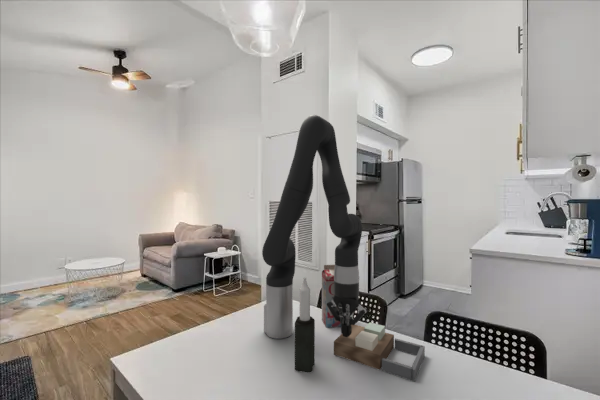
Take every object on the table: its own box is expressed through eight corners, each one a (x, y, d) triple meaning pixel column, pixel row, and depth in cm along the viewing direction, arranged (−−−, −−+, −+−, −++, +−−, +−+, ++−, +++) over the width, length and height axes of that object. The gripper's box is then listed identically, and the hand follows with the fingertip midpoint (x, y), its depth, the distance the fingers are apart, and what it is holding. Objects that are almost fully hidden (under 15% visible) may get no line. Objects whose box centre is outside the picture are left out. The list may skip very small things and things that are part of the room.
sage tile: (364, 336, 89) (364, 328, 89) (369, 329, 93) (369, 322, 93) (380, 340, 86) (380, 332, 86) (385, 333, 90) (385, 326, 90)
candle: (312, 373, 76) (312, 280, 76) (293, 370, 77) (293, 279, 77) (315, 362, 81) (315, 275, 81) (297, 360, 82) (297, 274, 82)
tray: (381, 370, 78) (381, 359, 78) (395, 347, 89) (395, 338, 89) (414, 381, 73) (414, 370, 73) (424, 356, 85) (424, 346, 85)
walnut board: (333, 354, 86) (333, 341, 85) (352, 335, 97) (352, 323, 97) (379, 369, 78) (379, 355, 78) (393, 347, 90) (393, 334, 90)
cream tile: (355, 345, 83) (355, 337, 83) (361, 338, 87) (361, 330, 87) (372, 351, 80) (372, 342, 80) (377, 343, 84) (378, 335, 84)
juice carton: (343, 326, 104) (343, 266, 104) (326, 327, 103) (326, 267, 103) (338, 318, 111) (338, 262, 110) (321, 319, 110) (321, 262, 109)
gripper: (321, 278, 87) (321, 335, 88) (362, 286, 80) (362, 347, 80) (332, 273, 94) (332, 325, 94) (371, 279, 86) (371, 336, 87)
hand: (346, 335), depth 87 cm, fingers closed
